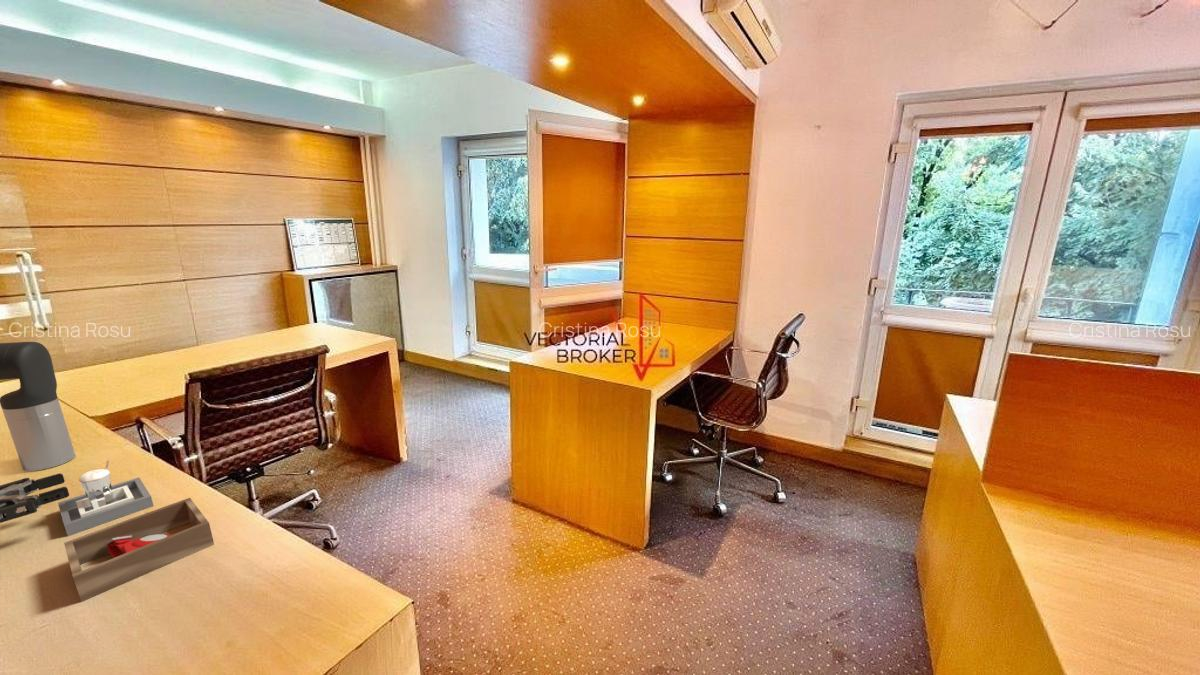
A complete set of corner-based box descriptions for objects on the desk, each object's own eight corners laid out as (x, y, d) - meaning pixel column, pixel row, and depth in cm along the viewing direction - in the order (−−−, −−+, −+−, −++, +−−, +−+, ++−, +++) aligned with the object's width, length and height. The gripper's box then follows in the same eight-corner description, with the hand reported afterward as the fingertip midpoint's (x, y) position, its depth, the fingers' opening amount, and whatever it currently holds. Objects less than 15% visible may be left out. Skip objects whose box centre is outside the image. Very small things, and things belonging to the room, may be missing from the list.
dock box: (60, 512, 101) (57, 502, 101) (141, 486, 111) (139, 477, 111) (67, 536, 94) (64, 525, 93) (153, 505, 104) (150, 496, 103)
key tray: (71, 565, 86) (63, 542, 84) (194, 517, 100) (189, 497, 98) (81, 601, 78) (73, 577, 76) (214, 544, 91) (209, 522, 90)
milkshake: (128, 500, 105) (117, 461, 102) (101, 514, 99) (88, 474, 97) (110, 499, 105) (99, 460, 103) (82, 513, 100) (70, 472, 97)
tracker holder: (189, 527, 95) (168, 545, 86) (185, 549, 94) (164, 570, 85) (110, 530, 89) (79, 550, 80) (106, 553, 89) (75, 576, 80)
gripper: (-77, 519, 79) (64, 479, 92) (-72, 491, 87) (57, 458, 100) (-62, 556, 81) (75, 512, 94) (-58, 525, 89) (66, 488, 102)
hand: (65, 484), depth 97 cm, fingers open, 8 cm apart
